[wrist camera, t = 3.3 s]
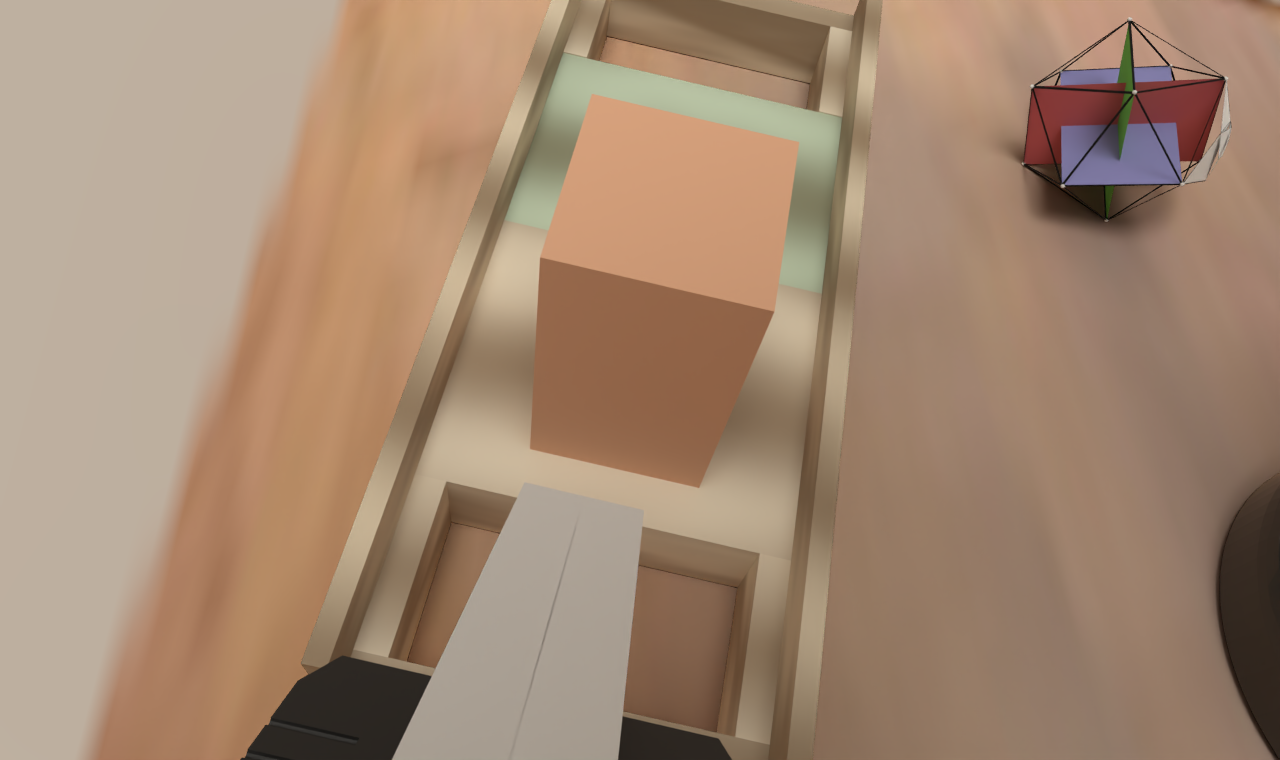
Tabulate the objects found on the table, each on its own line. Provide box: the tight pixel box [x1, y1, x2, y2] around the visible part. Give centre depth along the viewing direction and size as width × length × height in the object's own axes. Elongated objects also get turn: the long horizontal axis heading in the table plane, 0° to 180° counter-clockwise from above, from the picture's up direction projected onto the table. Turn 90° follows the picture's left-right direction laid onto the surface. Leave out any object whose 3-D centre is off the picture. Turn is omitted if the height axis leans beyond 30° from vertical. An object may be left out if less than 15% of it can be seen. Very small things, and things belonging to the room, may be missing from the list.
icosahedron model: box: [1022, 17, 1232, 222], centre depth 38 cm, size 7×7×8 cm
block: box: [530, 94, 799, 488], centre depth 25 cm, size 5×5×9 cm
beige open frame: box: [301, 0, 883, 760], centre depth 32 cm, size 30×12×5 cm, turn 169°
